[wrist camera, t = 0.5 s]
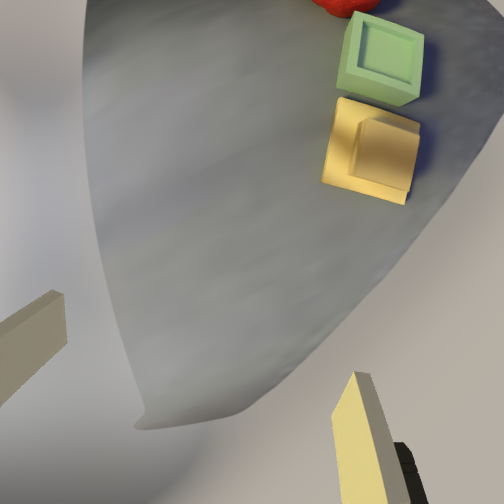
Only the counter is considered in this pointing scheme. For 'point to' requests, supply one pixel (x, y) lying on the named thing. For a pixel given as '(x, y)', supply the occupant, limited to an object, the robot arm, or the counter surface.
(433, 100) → the counter surface
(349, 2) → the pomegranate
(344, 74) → the cup block
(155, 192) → the counter surface
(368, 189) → the plate
